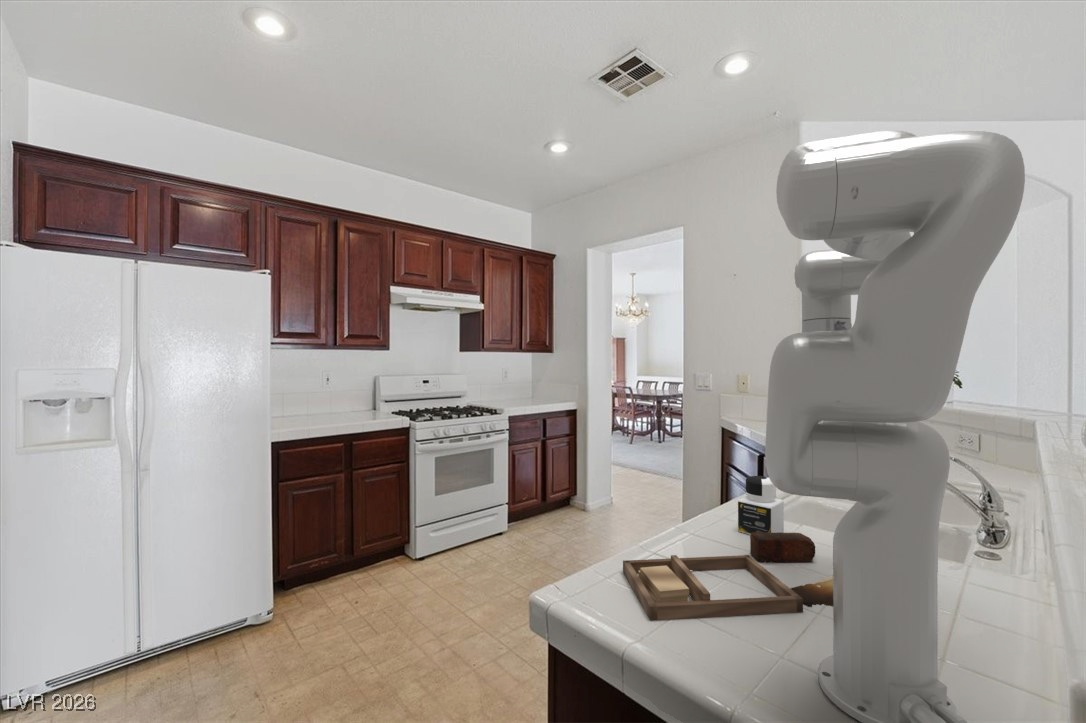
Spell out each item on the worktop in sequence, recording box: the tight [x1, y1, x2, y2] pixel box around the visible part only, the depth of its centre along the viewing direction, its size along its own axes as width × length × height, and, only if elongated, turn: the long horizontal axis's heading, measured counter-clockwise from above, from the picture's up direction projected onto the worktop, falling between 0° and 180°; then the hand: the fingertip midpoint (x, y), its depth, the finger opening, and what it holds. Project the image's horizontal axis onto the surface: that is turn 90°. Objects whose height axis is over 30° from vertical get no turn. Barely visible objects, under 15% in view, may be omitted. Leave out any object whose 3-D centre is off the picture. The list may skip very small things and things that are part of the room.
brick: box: [749, 532, 816, 564], centre depth 90 cm, size 11×4×5 cm, turn 90°
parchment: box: [789, 575, 833, 608], centre depth 79 cm, size 25×10×1 cm, turn 105°
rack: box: [622, 554, 804, 621], centre depth 78 cm, size 16×24×3 cm
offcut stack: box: [637, 565, 690, 603], centre depth 78 cm, size 10×5×3 cm, turn 9°
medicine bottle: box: [737, 475, 785, 536], centre depth 104 cm, size 7×7×12 cm
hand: (827, 428), depth 83 cm, fingers open, 9 cm apart
